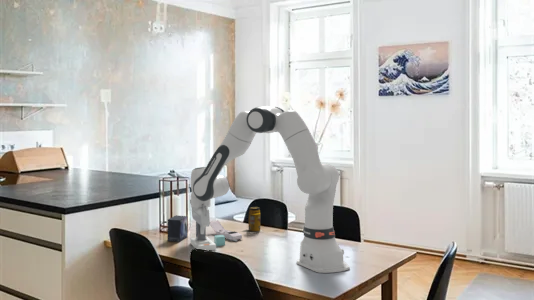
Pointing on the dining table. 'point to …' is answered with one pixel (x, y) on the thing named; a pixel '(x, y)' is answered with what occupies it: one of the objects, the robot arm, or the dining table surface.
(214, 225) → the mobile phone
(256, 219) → the condiment
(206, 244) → the power strip
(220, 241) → the teal cube
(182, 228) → the small box
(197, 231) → the block
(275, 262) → the dining table surface
